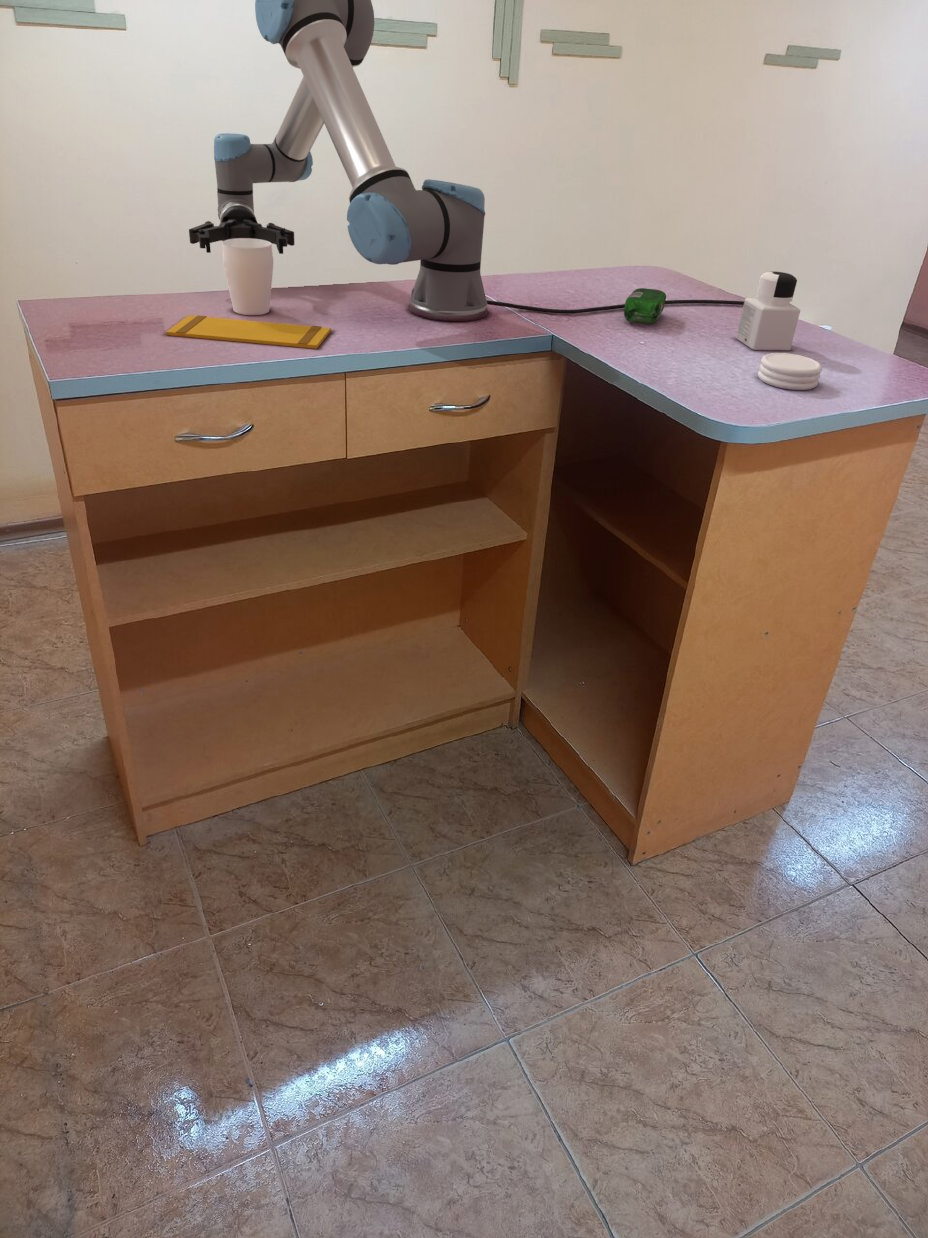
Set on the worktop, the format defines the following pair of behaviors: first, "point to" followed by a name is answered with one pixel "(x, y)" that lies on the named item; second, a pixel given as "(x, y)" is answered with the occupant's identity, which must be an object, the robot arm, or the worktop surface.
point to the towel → (250, 331)
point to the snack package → (644, 305)
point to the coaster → (789, 371)
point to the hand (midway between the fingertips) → (244, 245)
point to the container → (770, 314)
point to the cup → (249, 274)
